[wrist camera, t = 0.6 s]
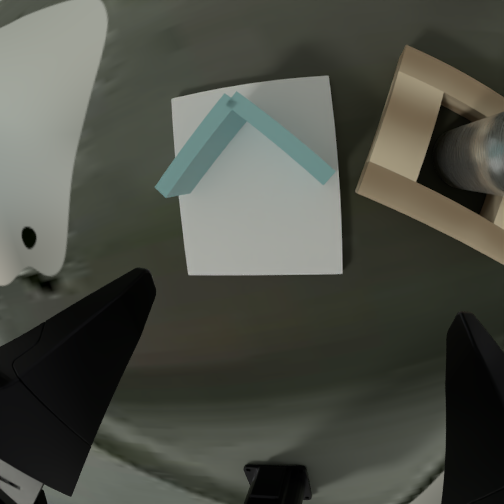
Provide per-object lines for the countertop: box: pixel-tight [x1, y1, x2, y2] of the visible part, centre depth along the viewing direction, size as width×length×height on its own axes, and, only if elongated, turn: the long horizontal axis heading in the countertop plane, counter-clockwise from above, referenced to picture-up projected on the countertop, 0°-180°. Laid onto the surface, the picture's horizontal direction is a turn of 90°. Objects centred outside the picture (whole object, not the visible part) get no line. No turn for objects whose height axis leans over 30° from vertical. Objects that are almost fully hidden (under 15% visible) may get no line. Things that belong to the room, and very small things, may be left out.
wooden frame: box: [355, 45, 504, 265], centre depth 16 cm, size 10×12×2 cm
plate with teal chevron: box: [155, 76, 342, 275], centre depth 19 cm, size 13×11×4 cm
